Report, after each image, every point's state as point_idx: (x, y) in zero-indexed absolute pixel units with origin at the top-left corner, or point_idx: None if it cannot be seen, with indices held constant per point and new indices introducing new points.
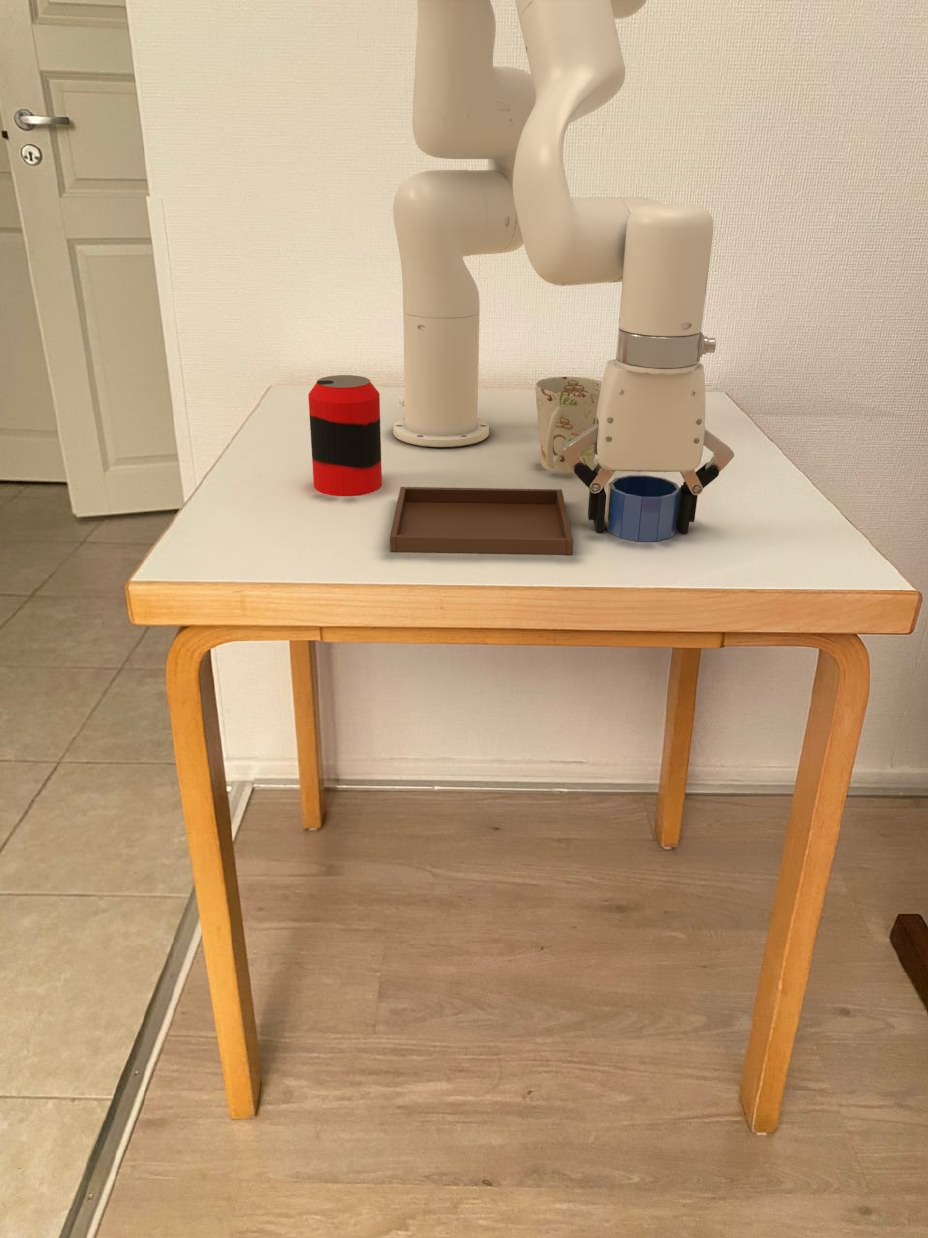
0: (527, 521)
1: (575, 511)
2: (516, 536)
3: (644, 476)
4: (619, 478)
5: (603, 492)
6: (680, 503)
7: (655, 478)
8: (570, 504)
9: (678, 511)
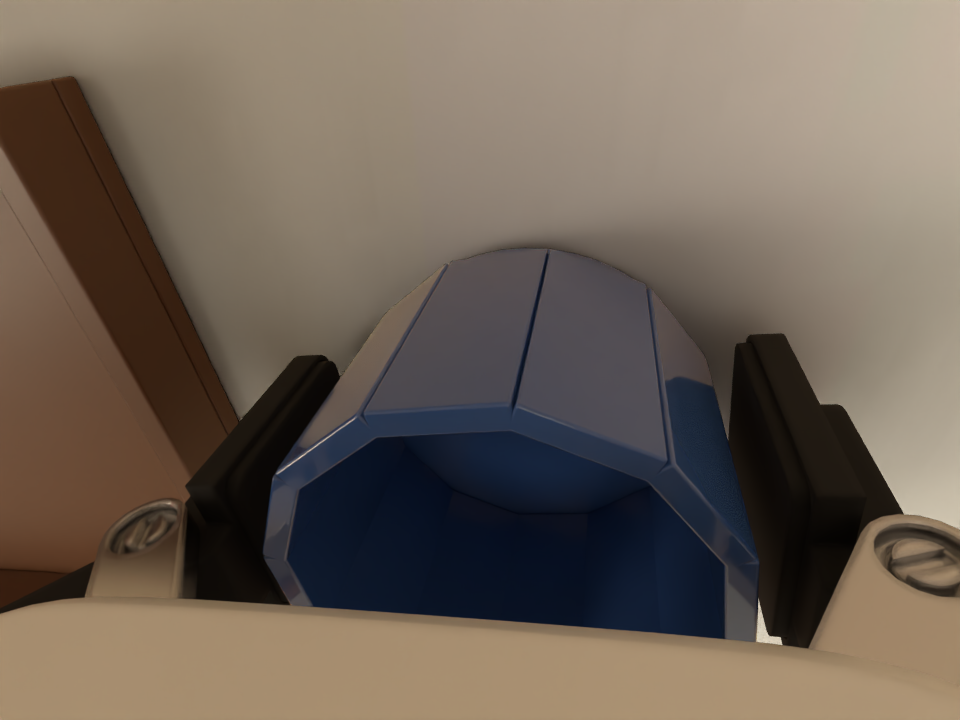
0: (56, 368)
1: (175, 133)
2: (99, 490)
3: (493, 431)
4: (304, 481)
5: (271, 598)
6: (759, 505)
7: (590, 460)
8: (102, 3)
9: (748, 435)
